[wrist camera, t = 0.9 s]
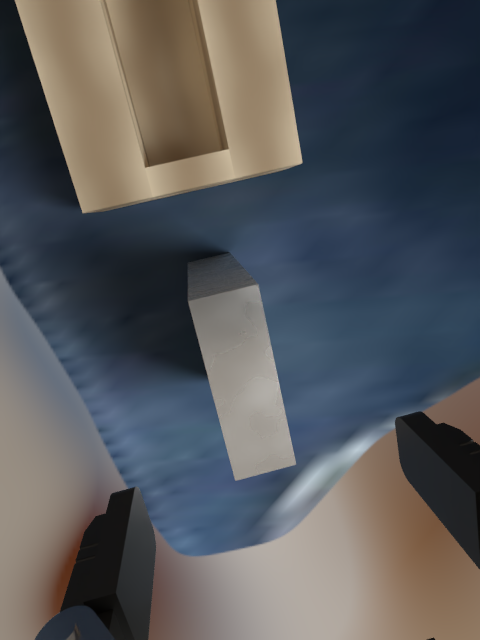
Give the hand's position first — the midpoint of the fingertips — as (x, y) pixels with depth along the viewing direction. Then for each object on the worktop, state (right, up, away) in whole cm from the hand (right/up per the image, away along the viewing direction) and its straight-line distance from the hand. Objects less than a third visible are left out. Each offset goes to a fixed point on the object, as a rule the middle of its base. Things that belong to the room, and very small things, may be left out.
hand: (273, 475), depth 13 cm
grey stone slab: (-2, +5, +17) cm, 18 cm away
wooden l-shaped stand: (-6, +22, +12) cm, 26 cm away
